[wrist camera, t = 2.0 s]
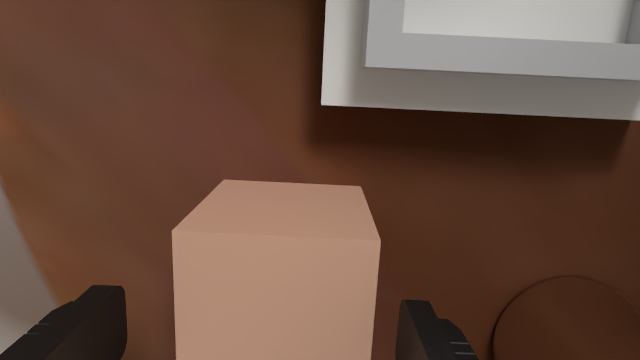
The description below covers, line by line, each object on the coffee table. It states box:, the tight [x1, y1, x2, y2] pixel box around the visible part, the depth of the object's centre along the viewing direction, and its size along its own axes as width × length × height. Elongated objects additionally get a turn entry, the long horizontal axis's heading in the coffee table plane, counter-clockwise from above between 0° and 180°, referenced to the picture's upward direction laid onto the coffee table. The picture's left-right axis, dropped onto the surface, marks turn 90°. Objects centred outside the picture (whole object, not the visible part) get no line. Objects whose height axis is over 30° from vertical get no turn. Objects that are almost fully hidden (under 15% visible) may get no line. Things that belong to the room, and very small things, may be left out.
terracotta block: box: [172, 180, 381, 360], centre depth 15 cm, size 6×6×6 cm
